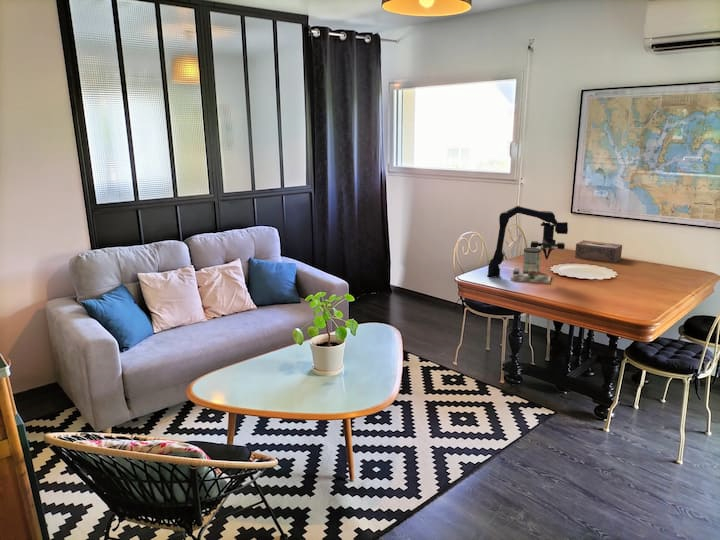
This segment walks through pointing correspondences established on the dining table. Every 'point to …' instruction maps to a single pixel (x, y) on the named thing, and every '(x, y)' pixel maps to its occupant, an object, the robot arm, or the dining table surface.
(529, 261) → the coffee can
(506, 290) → the dining table surface
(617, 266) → the dining table surface
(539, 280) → the base
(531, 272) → the gauge carriage
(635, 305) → the dining table surface
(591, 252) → the tissue box cover
